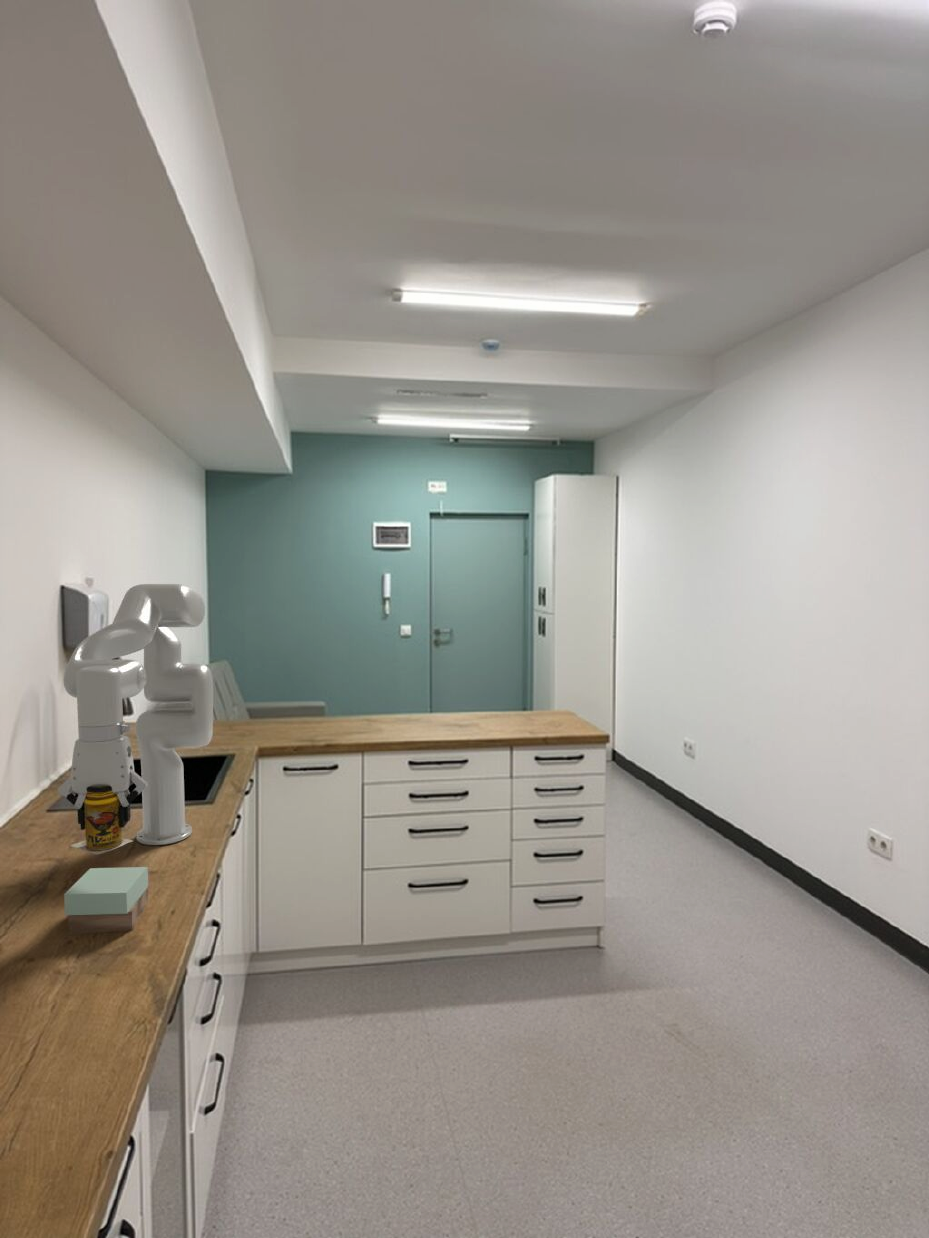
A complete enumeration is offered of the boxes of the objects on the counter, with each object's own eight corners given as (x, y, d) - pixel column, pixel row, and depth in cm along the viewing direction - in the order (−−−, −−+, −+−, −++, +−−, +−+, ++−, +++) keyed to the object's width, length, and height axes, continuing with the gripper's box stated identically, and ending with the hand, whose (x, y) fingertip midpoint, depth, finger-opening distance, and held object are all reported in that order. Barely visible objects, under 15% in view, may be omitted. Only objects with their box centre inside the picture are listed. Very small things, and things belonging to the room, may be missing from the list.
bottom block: (89, 907, 144) (88, 888, 144) (148, 903, 146) (147, 884, 145) (68, 936, 133) (67, 915, 133) (132, 932, 135) (131, 911, 135)
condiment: (98, 855, 132) (95, 791, 131) (69, 846, 136) (67, 783, 135) (133, 842, 138) (131, 780, 137) (105, 833, 143) (103, 773, 142)
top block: (91, 887, 144) (90, 868, 144) (148, 886, 145) (147, 866, 144) (65, 915, 133) (64, 894, 133) (127, 913, 134) (126, 892, 133)
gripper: (155, 726, 141) (158, 816, 142) (58, 729, 138) (62, 821, 139) (145, 735, 133) (148, 830, 135) (42, 739, 130) (47, 836, 132)
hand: (104, 825), depth 137 cm, fingers closed on condiment, 6 cm apart
